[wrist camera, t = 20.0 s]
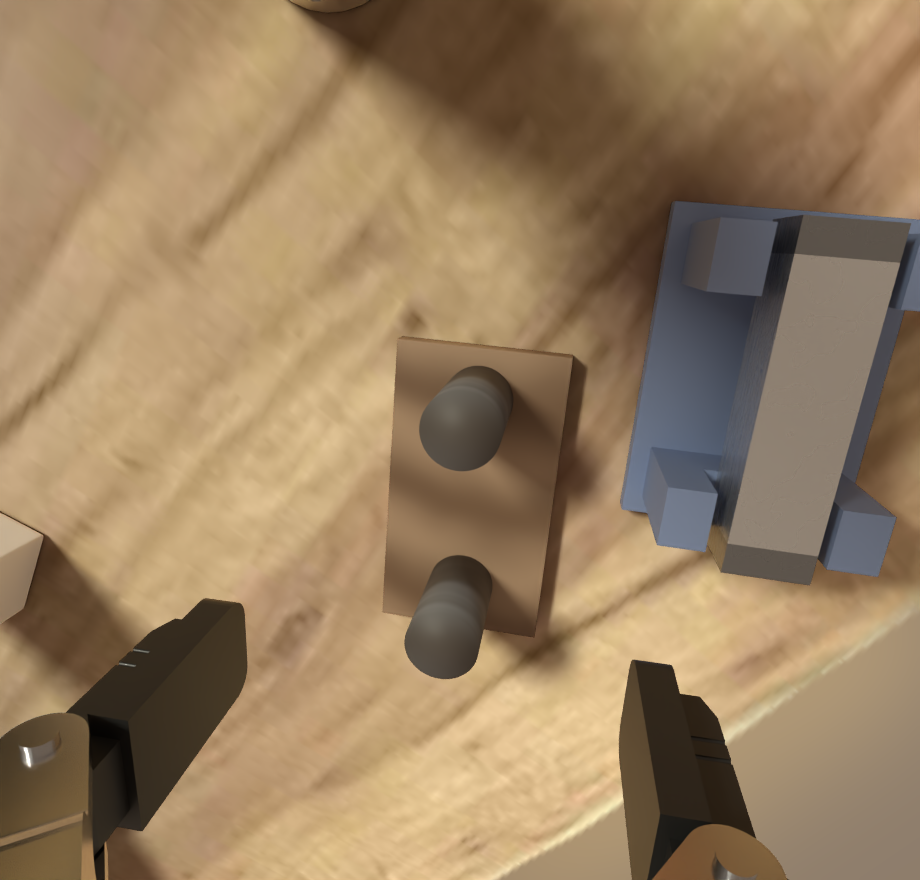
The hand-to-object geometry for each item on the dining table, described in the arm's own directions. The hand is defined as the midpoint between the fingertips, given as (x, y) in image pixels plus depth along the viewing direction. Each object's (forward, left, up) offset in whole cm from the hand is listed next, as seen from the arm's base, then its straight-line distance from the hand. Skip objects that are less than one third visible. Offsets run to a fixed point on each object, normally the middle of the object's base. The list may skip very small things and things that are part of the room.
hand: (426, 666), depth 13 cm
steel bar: (-2, +13, -22) cm, 26 cm away
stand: (+6, -2, -26) cm, 27 cm away
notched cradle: (-3, +13, -26) cm, 29 cm away
